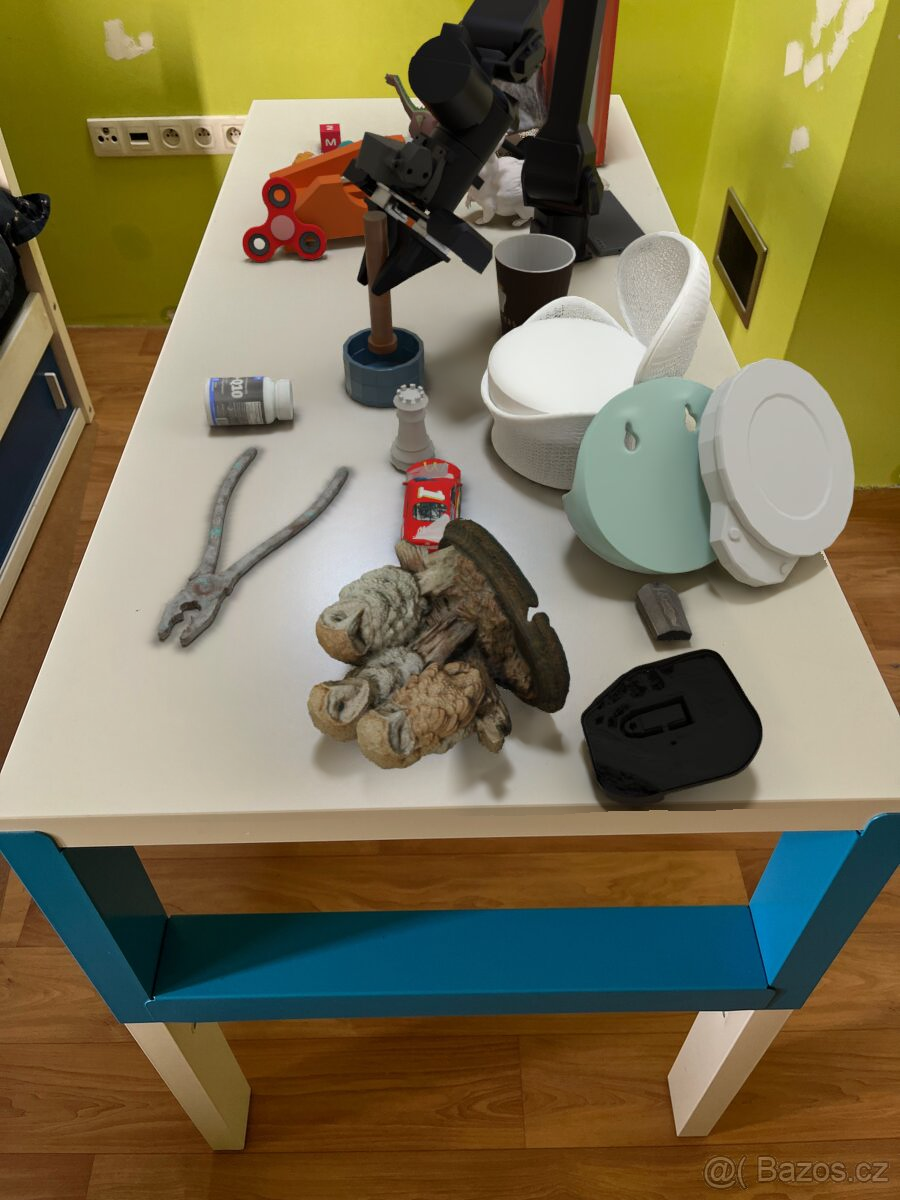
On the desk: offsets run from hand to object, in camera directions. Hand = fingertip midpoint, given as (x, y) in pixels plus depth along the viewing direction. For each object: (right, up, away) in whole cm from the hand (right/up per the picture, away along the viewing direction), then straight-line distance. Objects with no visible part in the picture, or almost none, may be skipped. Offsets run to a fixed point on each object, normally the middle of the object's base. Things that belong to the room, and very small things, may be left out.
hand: (367, 288), depth 97 cm
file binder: (+26, +38, +53) cm, 70 cm away
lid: (+35, -20, -11) cm, 42 cm away
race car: (+7, -23, -6) cm, 25 cm away
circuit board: (+15, +39, +51) cm, 66 cm away
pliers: (-6, -17, 0) cm, 18 cm away
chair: (+21, -15, +2) cm, 26 cm away
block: (+26, -32, -15) cm, 44 cm away
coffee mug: (+18, 0, +17) cm, 24 cm away
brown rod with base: (+1, -4, +6) cm, 7 cm away
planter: (+28, -28, -10) cm, 41 cm away
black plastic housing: (+23, -39, -27) cm, 53 cm away
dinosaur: (+5, +34, +48) cm, 59 cm away
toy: (-13, +17, +26) cm, 33 cm away
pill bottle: (-16, -11, +2) cm, 20 cm away
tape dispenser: (-6, +19, +34) cm, 40 cm away
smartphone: (+27, +25, +38) cm, 53 cm away
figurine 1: (-2, +33, +44) cm, 55 cm away
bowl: (+1, -7, +9) cm, 12 cm away
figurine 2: (+16, +21, +36) cm, 45 cm away
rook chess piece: (+5, -17, 0) cm, 18 cm away
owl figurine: (+13, -31, -23) cm, 41 cm away
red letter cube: (-10, +37, +52) cm, 65 cm away
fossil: (+14, +42, +42) cm, 61 cm away
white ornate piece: (+10, +25, +43) cm, 50 cm away
